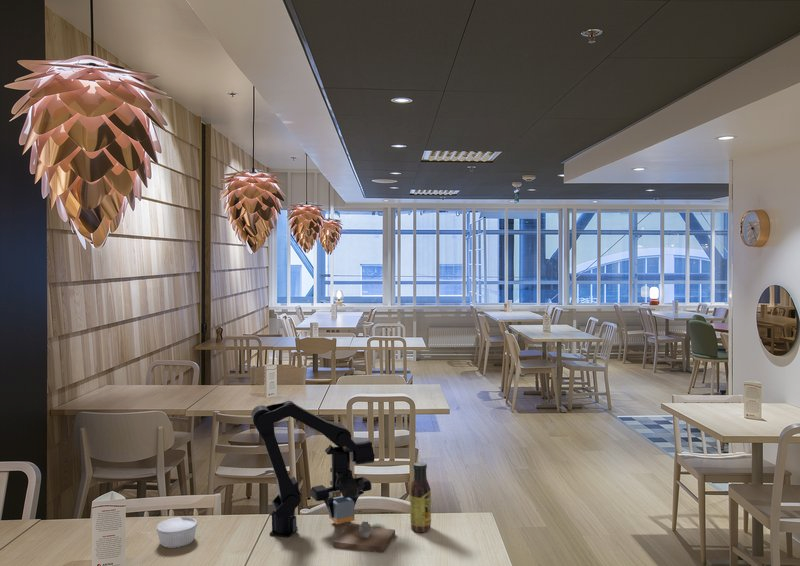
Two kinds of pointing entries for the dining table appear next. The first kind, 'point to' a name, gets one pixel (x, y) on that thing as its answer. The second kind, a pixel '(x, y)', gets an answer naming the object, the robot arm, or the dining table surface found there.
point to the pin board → (364, 538)
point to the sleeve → (343, 510)
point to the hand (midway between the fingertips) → (341, 515)
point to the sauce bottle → (420, 499)
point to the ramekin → (176, 531)
